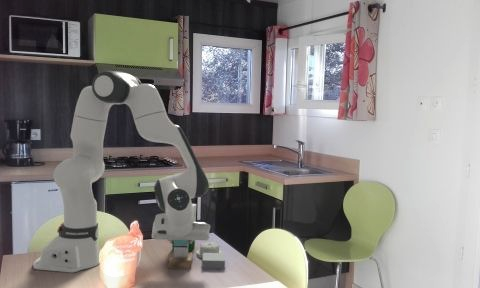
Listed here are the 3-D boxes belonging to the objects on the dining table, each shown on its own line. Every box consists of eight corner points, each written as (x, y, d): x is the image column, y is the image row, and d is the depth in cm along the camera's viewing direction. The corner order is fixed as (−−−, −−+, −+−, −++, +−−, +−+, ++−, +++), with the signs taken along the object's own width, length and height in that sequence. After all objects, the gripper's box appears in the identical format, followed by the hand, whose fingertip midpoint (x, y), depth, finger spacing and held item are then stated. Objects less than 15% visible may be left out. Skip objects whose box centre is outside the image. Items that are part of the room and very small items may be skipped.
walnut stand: (168, 268, 154) (168, 259, 154) (170, 259, 162) (170, 252, 162) (191, 268, 155) (191, 260, 155) (192, 260, 163) (192, 252, 163)
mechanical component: (193, 258, 166) (218, 261, 164) (193, 247, 165) (218, 250, 163) (200, 250, 175) (224, 252, 173) (201, 239, 175) (225, 241, 173)
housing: (173, 258, 156) (174, 235, 155) (174, 253, 160) (175, 231, 160) (187, 258, 156) (188, 235, 156) (188, 254, 161) (188, 231, 160)
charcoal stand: (202, 268, 155) (202, 260, 155) (202, 260, 163) (203, 252, 163) (224, 268, 156) (224, 260, 155) (224, 260, 164) (224, 253, 163)
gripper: (210, 215, 151) (210, 234, 161) (151, 214, 149) (154, 233, 160) (210, 232, 147) (209, 250, 157) (149, 230, 145) (152, 249, 156)
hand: (181, 241), depth 158 cm, fingers closed on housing, 5 cm apart
